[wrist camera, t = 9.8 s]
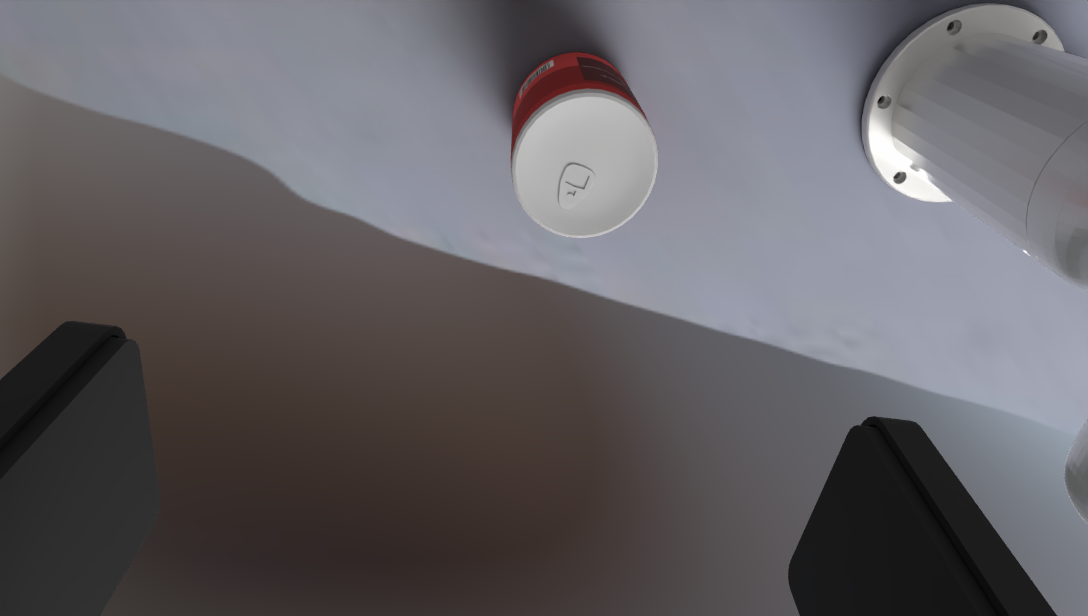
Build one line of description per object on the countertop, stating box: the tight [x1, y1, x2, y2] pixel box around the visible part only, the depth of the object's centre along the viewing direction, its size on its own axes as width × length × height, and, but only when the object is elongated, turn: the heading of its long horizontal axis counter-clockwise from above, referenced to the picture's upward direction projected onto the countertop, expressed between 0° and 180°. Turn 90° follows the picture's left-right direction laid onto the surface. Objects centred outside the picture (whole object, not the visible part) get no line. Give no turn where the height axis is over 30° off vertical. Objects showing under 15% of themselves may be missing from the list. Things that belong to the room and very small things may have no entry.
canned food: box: [511, 52, 658, 238], centre depth 43 cm, size 8×8×11 cm
